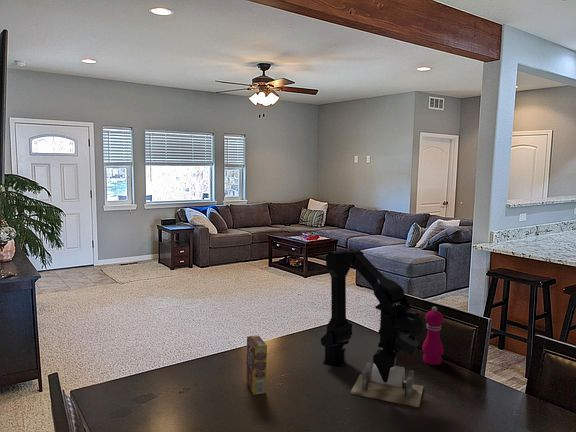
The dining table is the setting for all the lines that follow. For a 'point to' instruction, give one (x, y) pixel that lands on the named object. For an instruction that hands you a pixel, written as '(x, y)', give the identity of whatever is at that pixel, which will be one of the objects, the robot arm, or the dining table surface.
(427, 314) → the pepper mill
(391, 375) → the roll
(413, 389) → the roll holder
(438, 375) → the dining table surface
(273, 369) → the dining table surface
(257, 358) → the candy box
